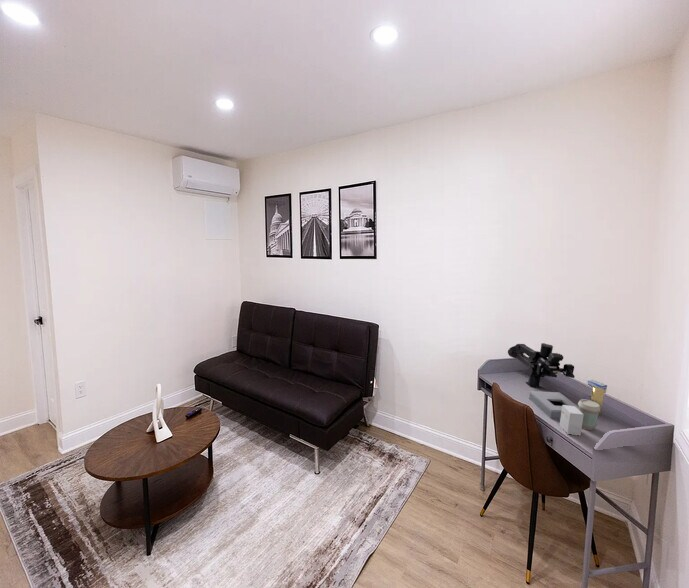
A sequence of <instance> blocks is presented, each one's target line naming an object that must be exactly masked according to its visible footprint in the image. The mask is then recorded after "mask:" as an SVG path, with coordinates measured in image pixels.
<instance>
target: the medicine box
mask: <svg viewBox="0 0 689 588" xmlns="http://www.w3.org/2000/svg"><path fill="white" fill-rule="evenodd" d="M587 385H589V386H591V387H600V388H602V389H604V390H605V392H604V393H606V392H607V388H608V384H604V383H602V382H600V381H597V380H594V379H590V380H587V382H586V386H587Z"/></svg>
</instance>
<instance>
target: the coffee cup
mask: <svg viewBox="0 0 689 588" xmlns="http://www.w3.org/2000/svg"><path fill="white" fill-rule="evenodd" d="M577 406H578V407H579V409H578V410H579V411H580V412H581V413H582V414H584V417H583V423H582V429H584V430H587V431H588V430H589V431H593V430H594V428H595V425H596V422H597V419H598V416H599V415H598V414H599V411H600V405H599V404H598V403H596V402H594V401H591V400H590V399H583V398H581V399H580V400H579V401H578V403H577Z"/></svg>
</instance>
